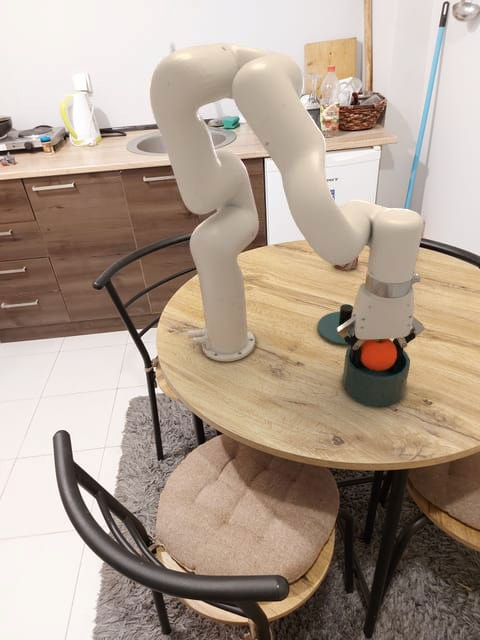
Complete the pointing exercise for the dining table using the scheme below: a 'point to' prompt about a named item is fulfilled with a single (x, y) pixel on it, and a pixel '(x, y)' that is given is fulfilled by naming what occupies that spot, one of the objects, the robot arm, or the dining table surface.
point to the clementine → (378, 354)
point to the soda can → (348, 265)
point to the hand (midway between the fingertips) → (375, 359)
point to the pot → (375, 382)
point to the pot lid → (335, 324)
